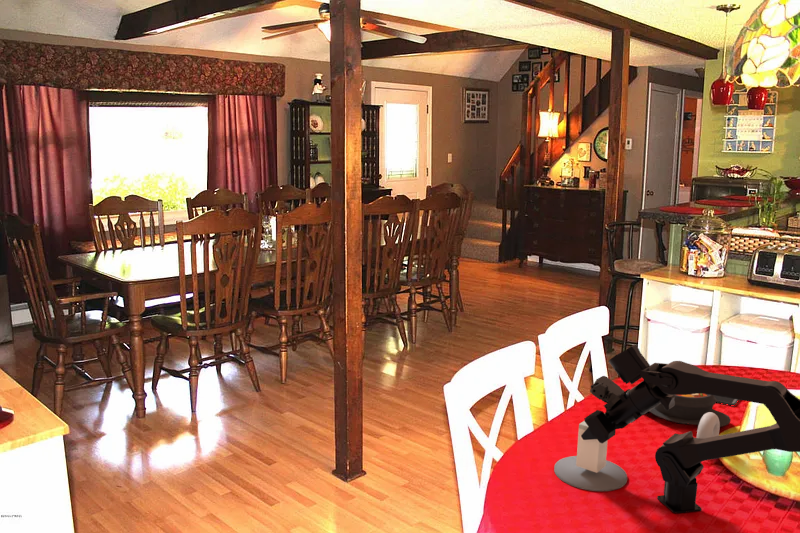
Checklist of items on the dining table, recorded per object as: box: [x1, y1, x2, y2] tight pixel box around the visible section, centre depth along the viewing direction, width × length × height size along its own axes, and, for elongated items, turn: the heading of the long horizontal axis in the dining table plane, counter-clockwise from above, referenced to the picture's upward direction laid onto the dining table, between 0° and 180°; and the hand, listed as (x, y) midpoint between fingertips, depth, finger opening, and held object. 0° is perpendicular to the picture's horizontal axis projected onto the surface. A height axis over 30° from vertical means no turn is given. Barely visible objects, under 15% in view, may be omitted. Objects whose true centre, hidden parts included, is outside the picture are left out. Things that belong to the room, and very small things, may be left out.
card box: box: [576, 420, 609, 473], centre depth 161 cm, size 5×4×10 cm
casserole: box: [648, 394, 732, 428], centre depth 196 cm, size 25×19×8 cm
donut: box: [696, 412, 721, 439], centre depth 174 cm, size 10×4×10 cm, turn 141°
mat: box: [553, 455, 628, 492], centre depth 162 cm, size 16×16×1 cm
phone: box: [714, 395, 738, 406], centre depth 213 cm, size 8×1×15 cm
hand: (587, 434), depth 161 cm, fingers closed on card box, 4 cm apart
